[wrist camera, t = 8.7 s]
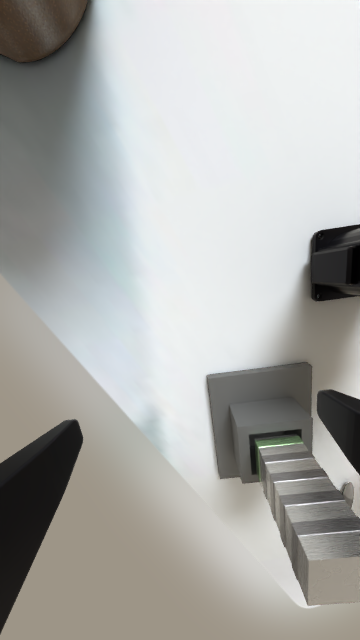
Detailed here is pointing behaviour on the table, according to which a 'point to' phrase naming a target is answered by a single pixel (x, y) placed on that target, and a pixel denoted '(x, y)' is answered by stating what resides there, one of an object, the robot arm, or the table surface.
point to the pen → (348, 494)
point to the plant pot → (37, 26)
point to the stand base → (258, 413)
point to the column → (311, 520)
